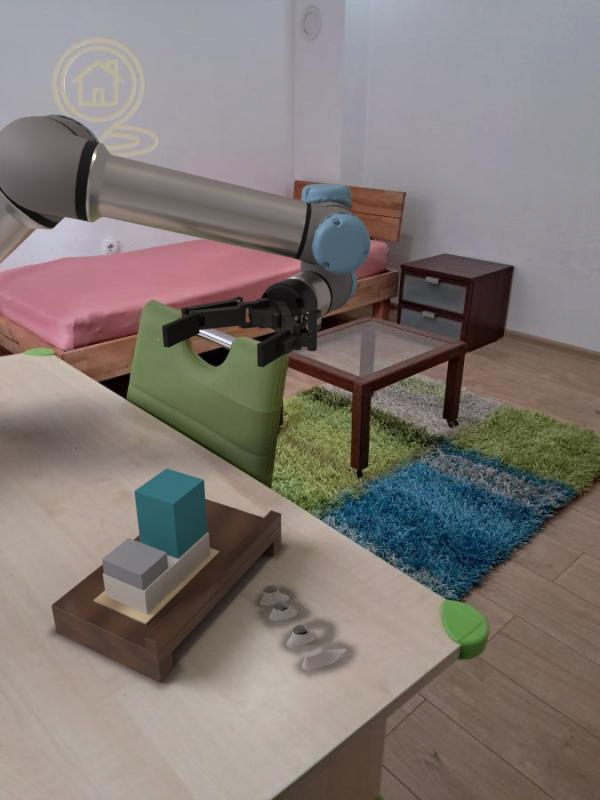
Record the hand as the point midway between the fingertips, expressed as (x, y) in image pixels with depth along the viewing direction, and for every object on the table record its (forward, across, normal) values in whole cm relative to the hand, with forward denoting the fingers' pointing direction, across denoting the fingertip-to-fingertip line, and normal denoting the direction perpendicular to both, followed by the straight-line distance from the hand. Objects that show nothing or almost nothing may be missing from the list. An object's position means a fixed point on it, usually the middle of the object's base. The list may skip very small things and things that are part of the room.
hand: (210, 346), depth 75 cm
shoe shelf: (+13, -3, -26) cm, 29 cm away
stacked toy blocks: (+16, -3, -21) cm, 27 cm away
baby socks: (+12, -19, -26) cm, 34 cm away
